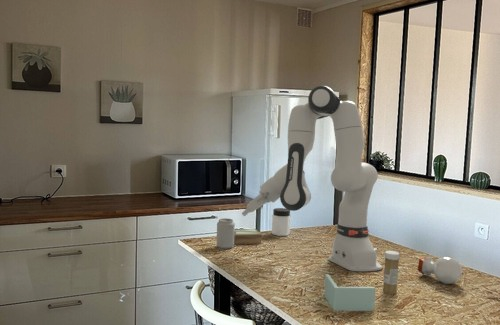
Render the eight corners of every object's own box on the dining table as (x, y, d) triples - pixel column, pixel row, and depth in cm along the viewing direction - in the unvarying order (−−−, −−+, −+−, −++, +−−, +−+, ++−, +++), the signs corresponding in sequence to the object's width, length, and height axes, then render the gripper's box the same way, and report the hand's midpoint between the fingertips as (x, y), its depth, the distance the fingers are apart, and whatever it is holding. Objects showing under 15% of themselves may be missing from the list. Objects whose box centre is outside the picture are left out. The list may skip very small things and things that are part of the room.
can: (237, 246, 202) (238, 219, 201) (227, 250, 196) (228, 222, 195) (223, 243, 206) (223, 216, 205) (212, 247, 200) (213, 219, 199)
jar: (287, 231, 232) (288, 208, 231) (291, 235, 224) (292, 211, 223) (270, 231, 231) (270, 208, 230) (273, 236, 223) (274, 211, 222)
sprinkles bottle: (380, 289, 155) (382, 250, 154) (393, 289, 155) (396, 250, 154) (385, 295, 150) (388, 254, 149) (399, 294, 151) (402, 254, 150)
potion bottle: (458, 292, 159) (421, 284, 171) (471, 272, 163) (434, 265, 176) (447, 272, 156) (410, 265, 169) (461, 252, 160) (424, 247, 173)
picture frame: (261, 243, 209) (261, 233, 208) (234, 244, 206) (235, 234, 206) (255, 237, 219) (256, 228, 218) (230, 238, 216) (230, 229, 215)
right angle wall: (373, 312, 138) (375, 287, 137) (333, 312, 137) (335, 287, 136) (361, 297, 150) (362, 274, 149) (324, 297, 149) (325, 274, 148)
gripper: (270, 201, 184) (244, 223, 187) (279, 194, 204) (256, 214, 207) (259, 188, 185) (234, 211, 188) (269, 183, 205) (247, 203, 208)
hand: (246, 212), depth 197 cm, fingers open, 8 cm apart
